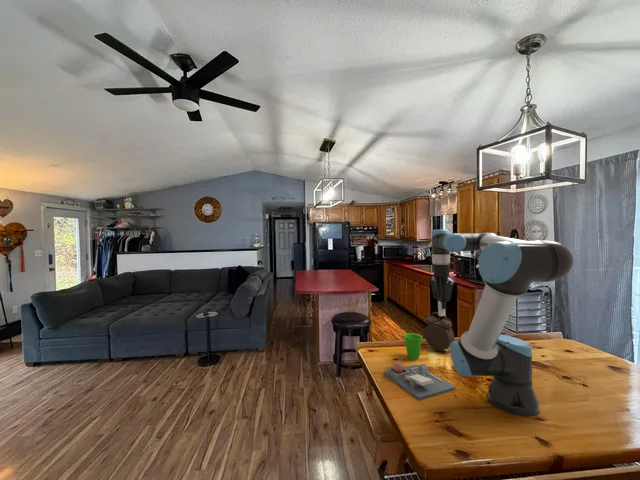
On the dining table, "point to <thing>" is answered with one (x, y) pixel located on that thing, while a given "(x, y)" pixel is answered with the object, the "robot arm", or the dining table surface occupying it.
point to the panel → (417, 389)
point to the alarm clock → (438, 333)
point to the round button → (398, 367)
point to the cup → (413, 345)
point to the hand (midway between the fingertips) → (442, 315)
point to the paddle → (419, 379)
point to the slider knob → (423, 369)
